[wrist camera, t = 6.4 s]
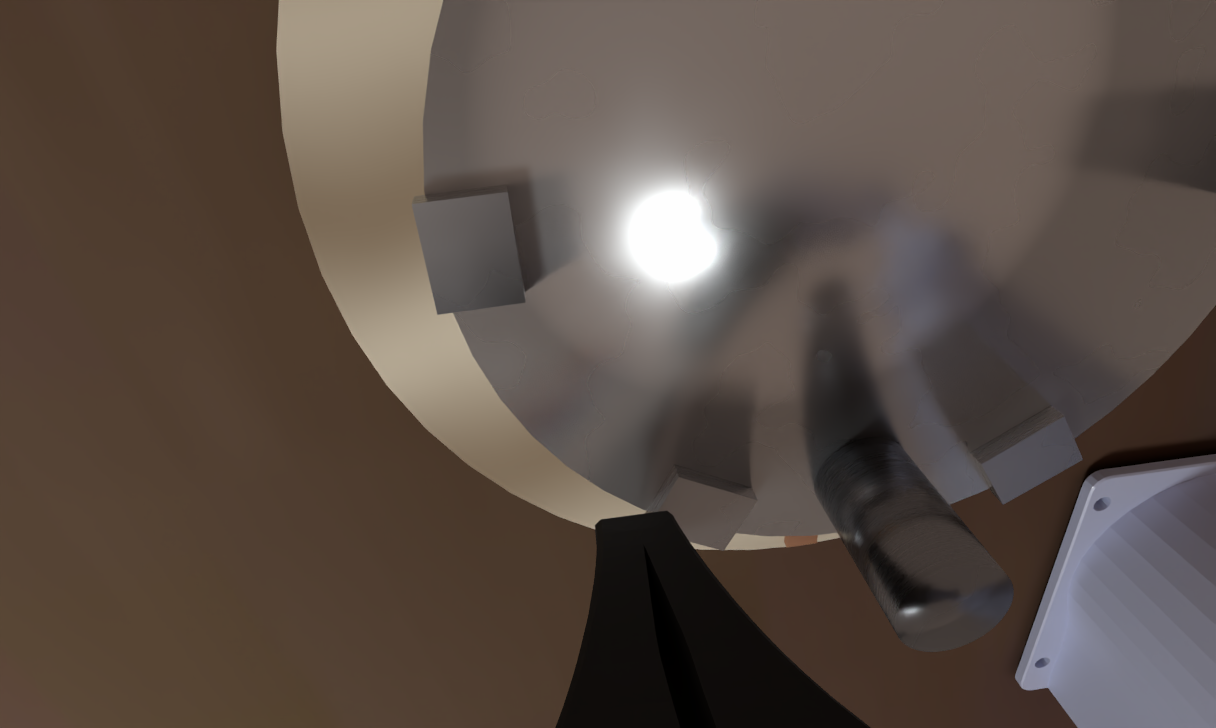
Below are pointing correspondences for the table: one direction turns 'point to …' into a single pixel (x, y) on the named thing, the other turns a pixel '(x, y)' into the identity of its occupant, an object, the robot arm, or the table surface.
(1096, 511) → the robot arm
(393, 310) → the base plate
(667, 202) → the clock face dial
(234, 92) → the table surface
